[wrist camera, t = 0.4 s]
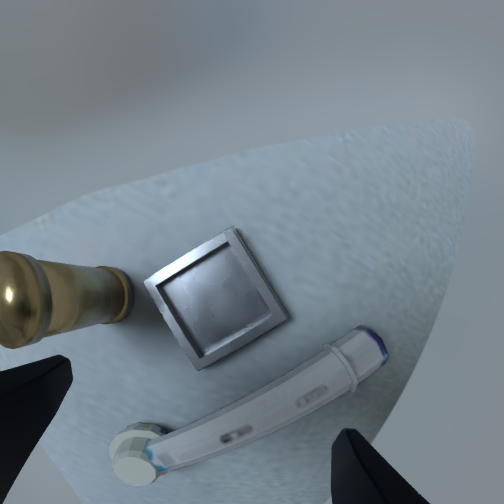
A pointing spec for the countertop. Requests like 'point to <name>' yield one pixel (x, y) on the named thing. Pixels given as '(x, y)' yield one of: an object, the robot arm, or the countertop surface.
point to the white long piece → (249, 411)
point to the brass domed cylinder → (57, 298)
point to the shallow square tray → (215, 299)
